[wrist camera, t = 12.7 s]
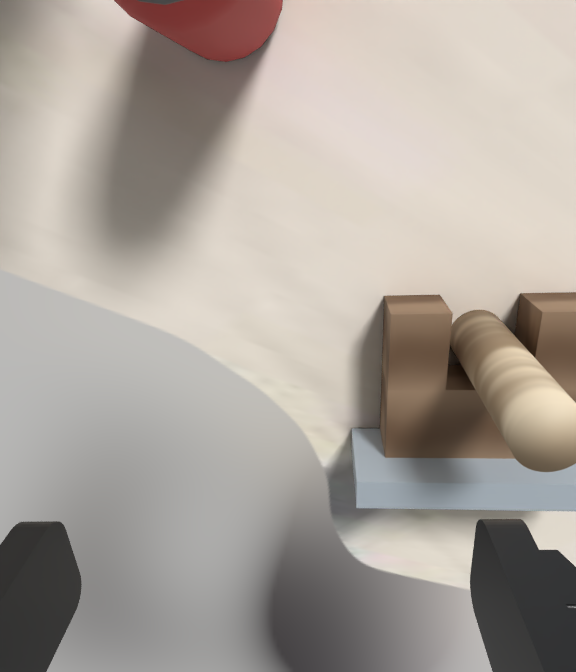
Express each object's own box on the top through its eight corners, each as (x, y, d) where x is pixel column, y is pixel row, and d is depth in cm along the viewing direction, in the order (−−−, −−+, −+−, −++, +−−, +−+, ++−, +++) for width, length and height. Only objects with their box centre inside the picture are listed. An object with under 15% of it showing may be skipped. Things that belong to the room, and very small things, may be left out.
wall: (351, 428, 36) (356, 482, 31) (582, 429, 35) (630, 485, 30) (351, 451, 37) (356, 508, 32) (577, 452, 36) (623, 512, 30)
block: (384, 295, 32) (390, 314, 29) (578, 292, 32) (607, 311, 28) (379, 428, 36) (385, 457, 33) (552, 428, 35) (575, 459, 32)
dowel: (450, 310, 33) (515, 404, 22) (506, 309, 32) (601, 404, 21) (446, 359, 34) (505, 472, 23) (500, 358, 34) (586, 472, 23)
